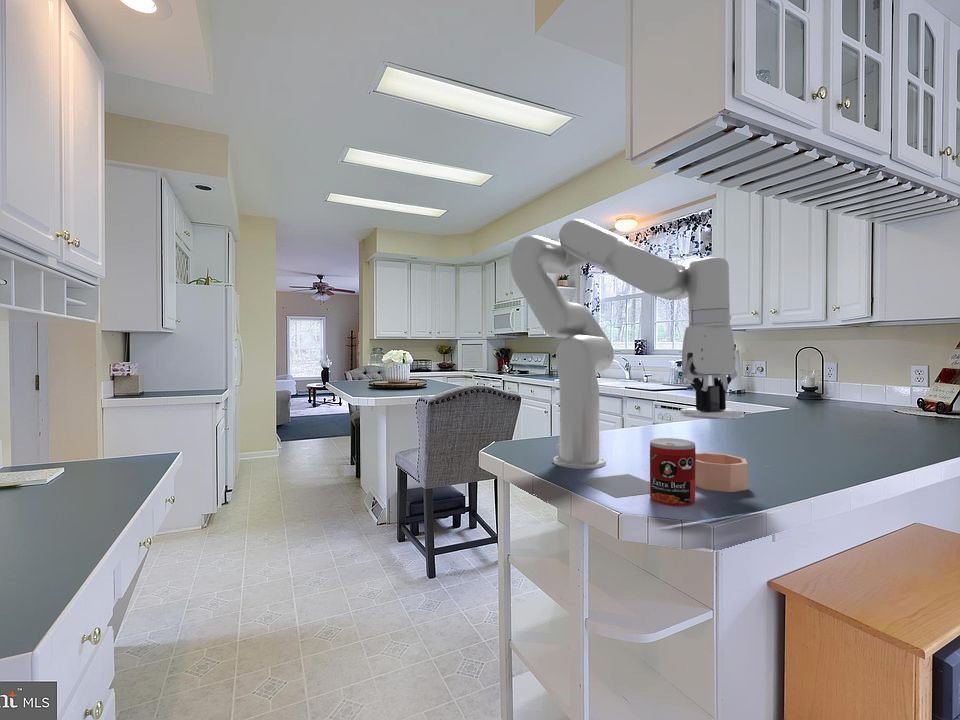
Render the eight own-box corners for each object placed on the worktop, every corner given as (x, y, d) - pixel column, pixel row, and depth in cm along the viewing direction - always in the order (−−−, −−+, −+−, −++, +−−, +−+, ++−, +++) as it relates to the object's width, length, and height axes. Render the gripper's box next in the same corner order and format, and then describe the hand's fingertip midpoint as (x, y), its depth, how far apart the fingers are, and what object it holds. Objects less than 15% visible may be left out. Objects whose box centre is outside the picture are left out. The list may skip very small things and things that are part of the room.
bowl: (675, 481, 98) (675, 455, 98) (714, 476, 102) (714, 451, 102) (717, 495, 88) (718, 466, 88) (759, 489, 92) (759, 462, 92)
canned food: (645, 503, 84) (645, 443, 84) (655, 492, 90) (655, 436, 90) (691, 511, 79) (691, 447, 79) (698, 499, 86) (698, 440, 86)
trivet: (577, 481, 98) (577, 479, 98) (628, 475, 103) (628, 474, 103) (616, 499, 86) (615, 497, 86) (671, 492, 91) (671, 490, 91)
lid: (667, 414, 98) (667, 385, 98) (710, 411, 102) (710, 383, 102) (712, 420, 87) (711, 388, 87) (758, 416, 91) (757, 386, 91)
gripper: (724, 321, 101) (726, 406, 101) (663, 321, 95) (665, 410, 95) (755, 318, 94) (757, 409, 94) (690, 317, 88) (692, 414, 88)
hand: (710, 409), depth 94 cm, fingers closed on lid, 3 cm apart
